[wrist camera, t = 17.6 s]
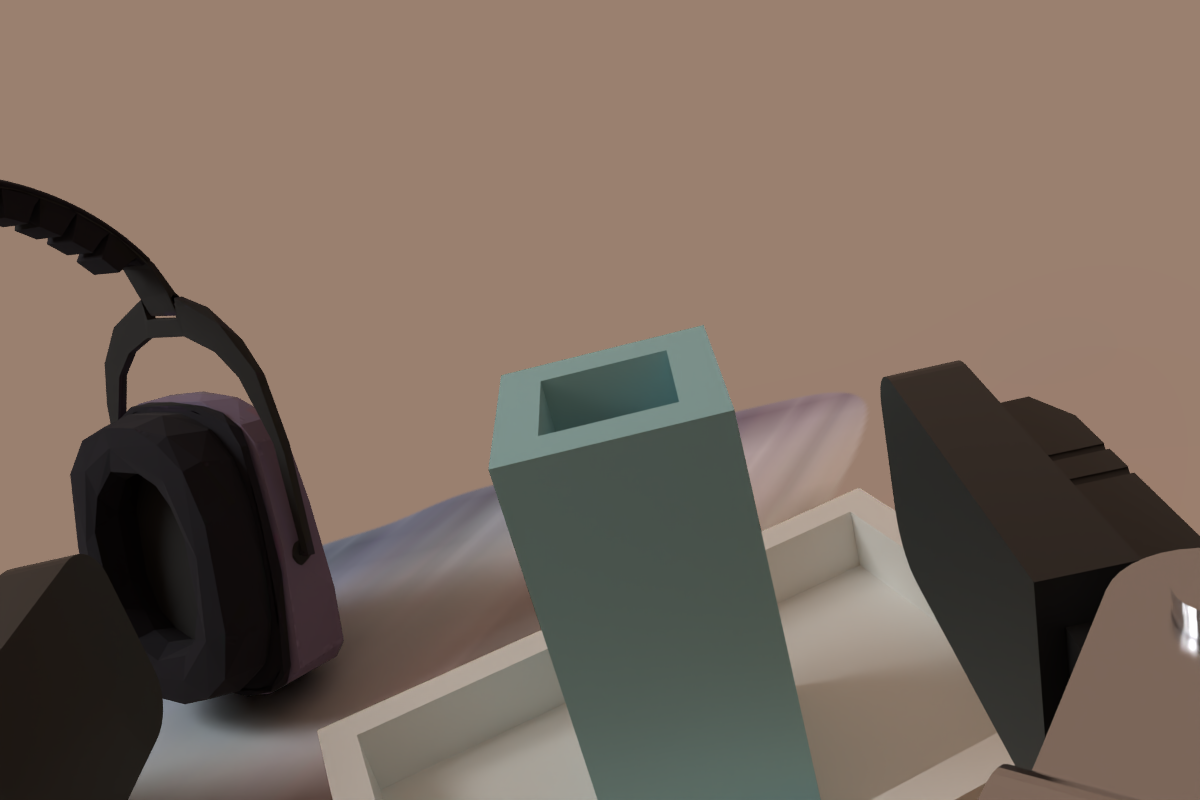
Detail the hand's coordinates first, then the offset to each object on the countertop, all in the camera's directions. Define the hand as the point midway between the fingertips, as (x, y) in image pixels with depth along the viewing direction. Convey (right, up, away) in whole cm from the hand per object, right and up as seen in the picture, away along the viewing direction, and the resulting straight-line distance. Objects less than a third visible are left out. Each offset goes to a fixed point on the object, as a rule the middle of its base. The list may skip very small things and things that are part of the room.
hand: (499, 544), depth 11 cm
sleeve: (+4, -8, +17) cm, 19 cm away
